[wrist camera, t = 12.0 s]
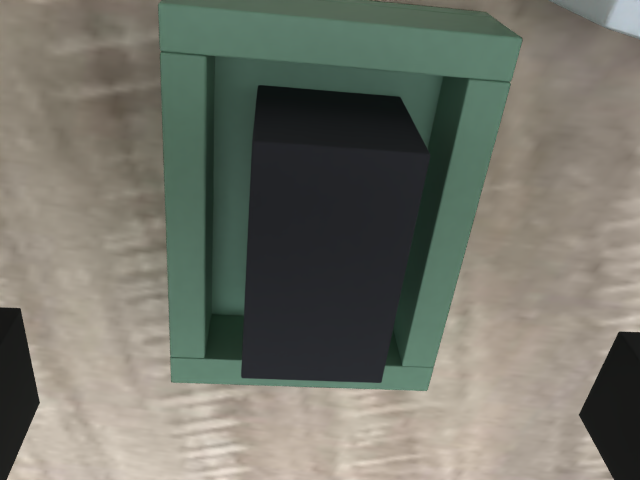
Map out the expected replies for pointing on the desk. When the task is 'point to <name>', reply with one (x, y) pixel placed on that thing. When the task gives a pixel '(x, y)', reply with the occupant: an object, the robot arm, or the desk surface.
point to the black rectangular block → (328, 232)
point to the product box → (608, 13)
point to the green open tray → (330, 75)
